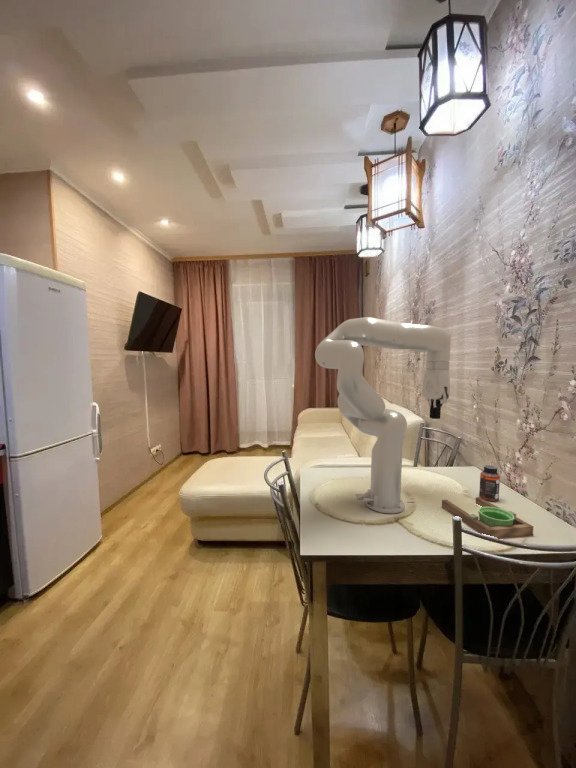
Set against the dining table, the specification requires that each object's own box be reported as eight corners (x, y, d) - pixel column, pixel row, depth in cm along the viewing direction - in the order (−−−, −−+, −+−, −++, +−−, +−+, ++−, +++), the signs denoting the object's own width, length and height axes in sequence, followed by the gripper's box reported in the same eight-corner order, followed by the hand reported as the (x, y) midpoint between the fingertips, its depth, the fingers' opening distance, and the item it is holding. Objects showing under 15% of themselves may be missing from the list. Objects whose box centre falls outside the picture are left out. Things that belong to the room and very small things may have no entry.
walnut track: (488, 539, 95) (488, 527, 95) (441, 507, 115) (441, 497, 115) (533, 535, 98) (534, 523, 98) (479, 504, 118) (480, 494, 118)
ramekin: (471, 526, 103) (472, 511, 102) (485, 517, 108) (486, 504, 108) (505, 538, 96) (506, 523, 95) (518, 529, 101) (519, 514, 101)
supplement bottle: (502, 502, 120) (504, 469, 119) (484, 501, 120) (486, 469, 119) (492, 495, 126) (494, 464, 125) (475, 495, 126) (477, 463, 125)
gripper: (416, 366, 131) (413, 415, 132) (440, 367, 116) (438, 422, 117) (434, 366, 132) (432, 414, 134) (461, 367, 117) (458, 422, 119)
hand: (434, 418), depth 126 cm, fingers closed
